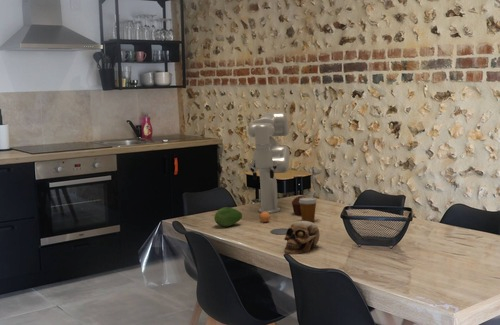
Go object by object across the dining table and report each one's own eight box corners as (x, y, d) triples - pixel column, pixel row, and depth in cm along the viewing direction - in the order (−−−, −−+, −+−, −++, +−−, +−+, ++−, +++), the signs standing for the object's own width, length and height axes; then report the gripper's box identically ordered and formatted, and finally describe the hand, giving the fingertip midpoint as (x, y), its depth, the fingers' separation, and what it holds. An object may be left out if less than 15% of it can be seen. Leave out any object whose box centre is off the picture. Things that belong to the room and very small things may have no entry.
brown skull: (283, 254, 273) (283, 223, 273) (284, 247, 291) (285, 218, 290) (320, 254, 272) (320, 224, 272) (319, 248, 289) (319, 219, 289)
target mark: (266, 230, 317) (266, 230, 317) (288, 227, 321) (288, 227, 321) (275, 235, 306) (275, 235, 306) (298, 232, 310) (298, 232, 310)
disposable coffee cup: (318, 222, 330) (317, 200, 328) (299, 223, 330) (299, 200, 328) (316, 218, 339) (315, 196, 338) (298, 219, 339) (298, 197, 338)
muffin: (288, 213, 355) (287, 196, 354) (305, 211, 359) (304, 194, 358) (298, 217, 344) (298, 199, 343) (316, 214, 349) (315, 197, 347)
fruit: (238, 222, 338) (237, 203, 337) (246, 225, 330) (245, 207, 328) (212, 225, 332) (211, 207, 331) (219, 229, 323) (218, 210, 322)
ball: (258, 221, 338) (258, 211, 337) (268, 220, 340) (267, 210, 339) (262, 223, 333) (261, 213, 332) (272, 222, 335) (271, 212, 334)
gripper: (274, 145, 345) (275, 176, 347) (244, 148, 339) (246, 179, 341) (280, 146, 338) (281, 178, 340) (250, 149, 332) (251, 181, 334)
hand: (263, 178), depth 341 cm, fingers open, 9 cm apart
